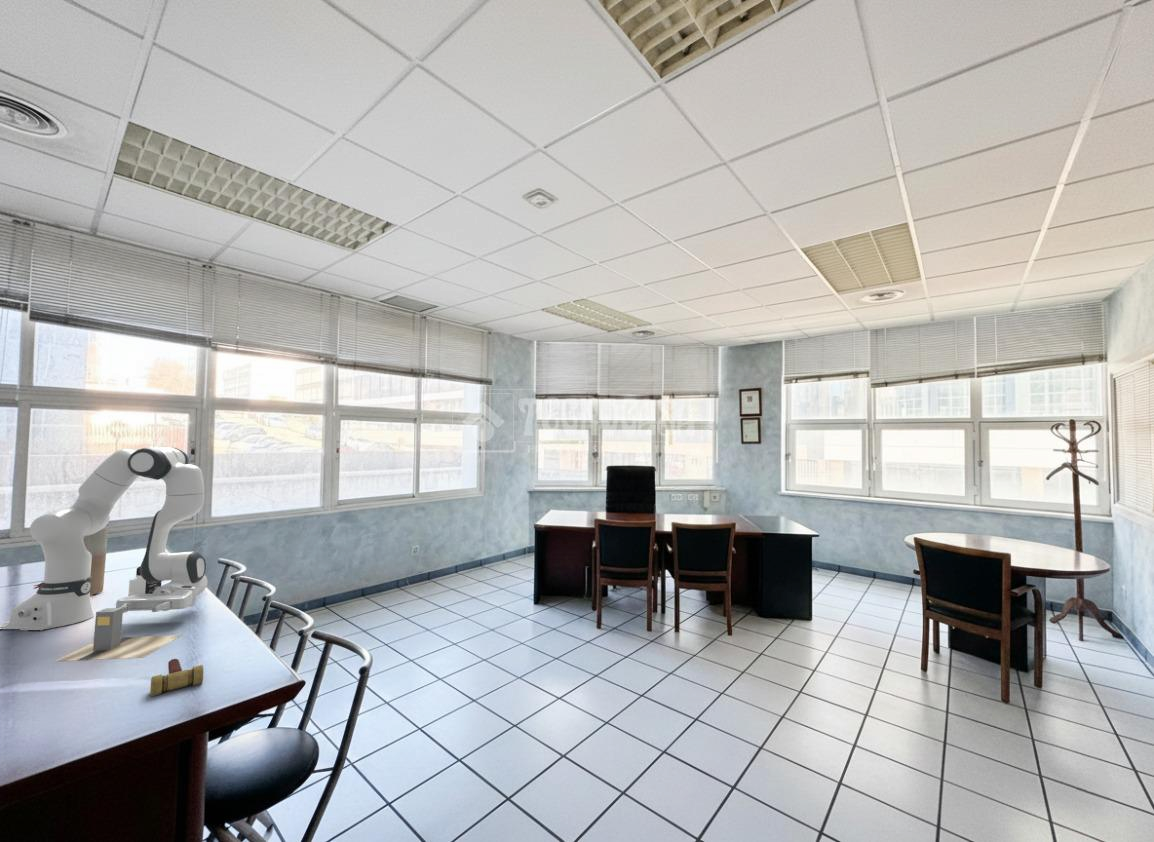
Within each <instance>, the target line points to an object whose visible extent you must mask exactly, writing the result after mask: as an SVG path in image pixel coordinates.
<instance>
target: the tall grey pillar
mask: <svg viewBox="0 0 1154 842" xmlns="http://www.w3.org/2000/svg"><path fill="white" fill-rule="evenodd" d="M123 615H124V613H123V608H116V607H109V608H106V607H105V608H103V609H100V610H98V611H96V612H95V621H94V623H95V624H94V632H93V633H94V635H93V643H94V644H93V651H102V650H112V649H114V648H116V647H118V646H120V642H121V637H122V628H123V627H122V626H123Z"/></svg>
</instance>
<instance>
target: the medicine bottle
mask: <svg viewBox="0 0 1154 842" xmlns="http://www.w3.org/2000/svg"><path fill="white" fill-rule="evenodd" d="M128 583H129V584H128V595H127V597H128V596H131V595H136V594H152V593H153V592H154V591H155V589H157V588H158V587H160V586H162V581H160V582H154V583H149V582H147V581H146V580H144V579H143V578H142V576H141V575H140V566H138V567H137V568H136V574H135V578H132V579H129V581H128Z"/></svg>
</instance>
